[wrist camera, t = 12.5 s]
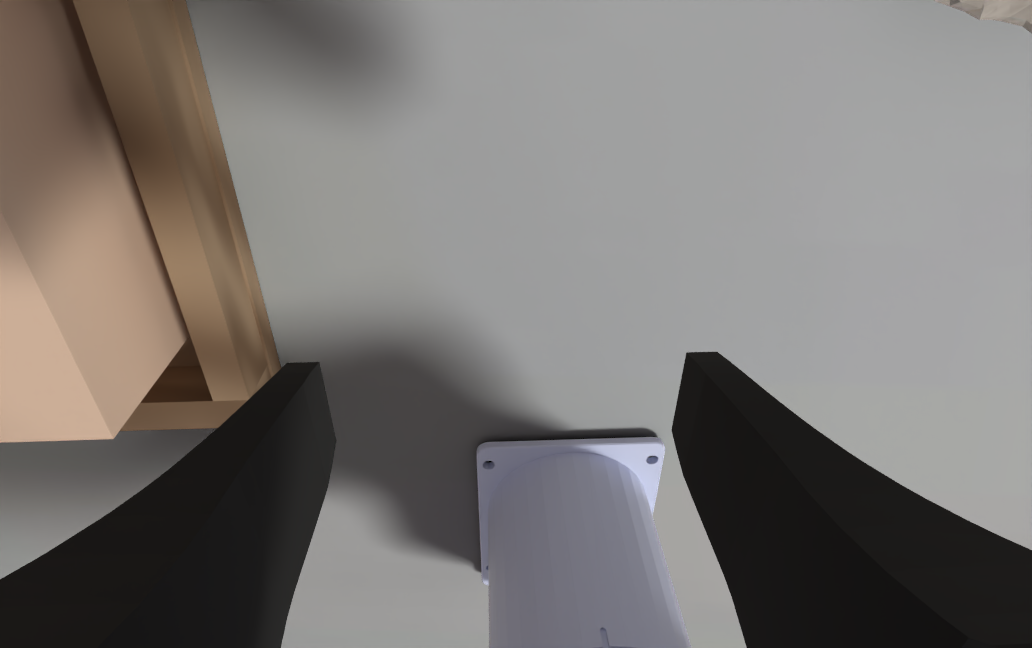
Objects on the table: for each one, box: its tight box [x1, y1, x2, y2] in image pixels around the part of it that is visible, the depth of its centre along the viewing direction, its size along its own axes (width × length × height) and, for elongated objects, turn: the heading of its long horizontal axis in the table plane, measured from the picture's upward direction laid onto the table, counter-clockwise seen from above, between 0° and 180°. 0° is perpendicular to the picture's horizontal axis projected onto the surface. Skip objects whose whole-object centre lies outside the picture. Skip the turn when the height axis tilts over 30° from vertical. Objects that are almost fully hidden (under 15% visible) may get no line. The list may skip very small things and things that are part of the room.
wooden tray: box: [73, 0, 281, 431], centre depth 17 cm, size 18×8×3 cm, turn 0°
